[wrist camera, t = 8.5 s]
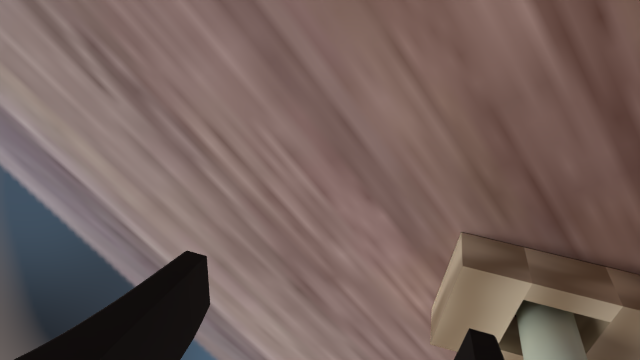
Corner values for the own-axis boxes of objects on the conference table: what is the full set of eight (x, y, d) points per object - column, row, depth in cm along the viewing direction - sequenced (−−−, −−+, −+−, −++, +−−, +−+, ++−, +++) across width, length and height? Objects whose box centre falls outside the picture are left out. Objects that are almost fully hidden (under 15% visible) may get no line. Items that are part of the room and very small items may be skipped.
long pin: (568, 279, 21) (616, 427, 15) (567, 315, 22) (611, 466, 16) (512, 279, 22) (536, 419, 16) (514, 314, 23) (537, 456, 17)
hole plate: (675, 283, 20) (701, 326, 18) (612, 357, 23) (628, 400, 21) (461, 232, 21) (462, 265, 19) (431, 308, 25) (430, 344, 22)
